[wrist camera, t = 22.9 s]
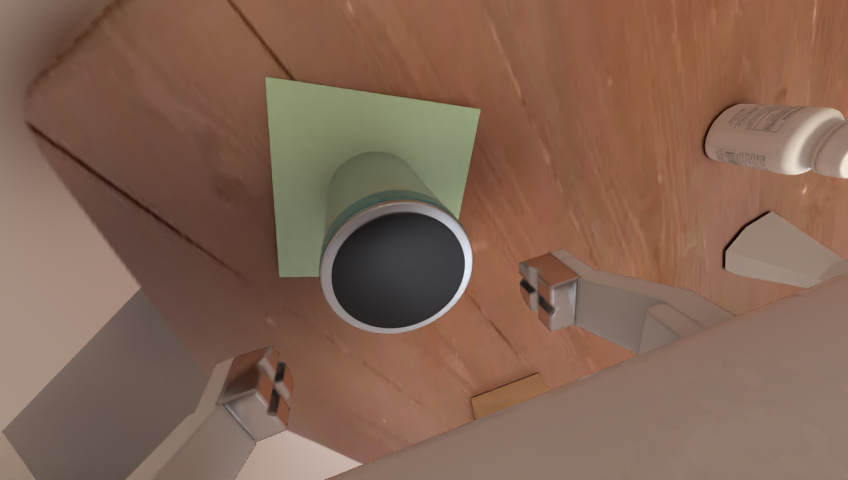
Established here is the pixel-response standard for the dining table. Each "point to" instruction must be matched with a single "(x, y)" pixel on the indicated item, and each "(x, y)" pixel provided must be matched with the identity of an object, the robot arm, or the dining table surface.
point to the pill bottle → (781, 139)
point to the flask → (782, 254)
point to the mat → (353, 154)
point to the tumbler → (390, 247)
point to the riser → (508, 395)
